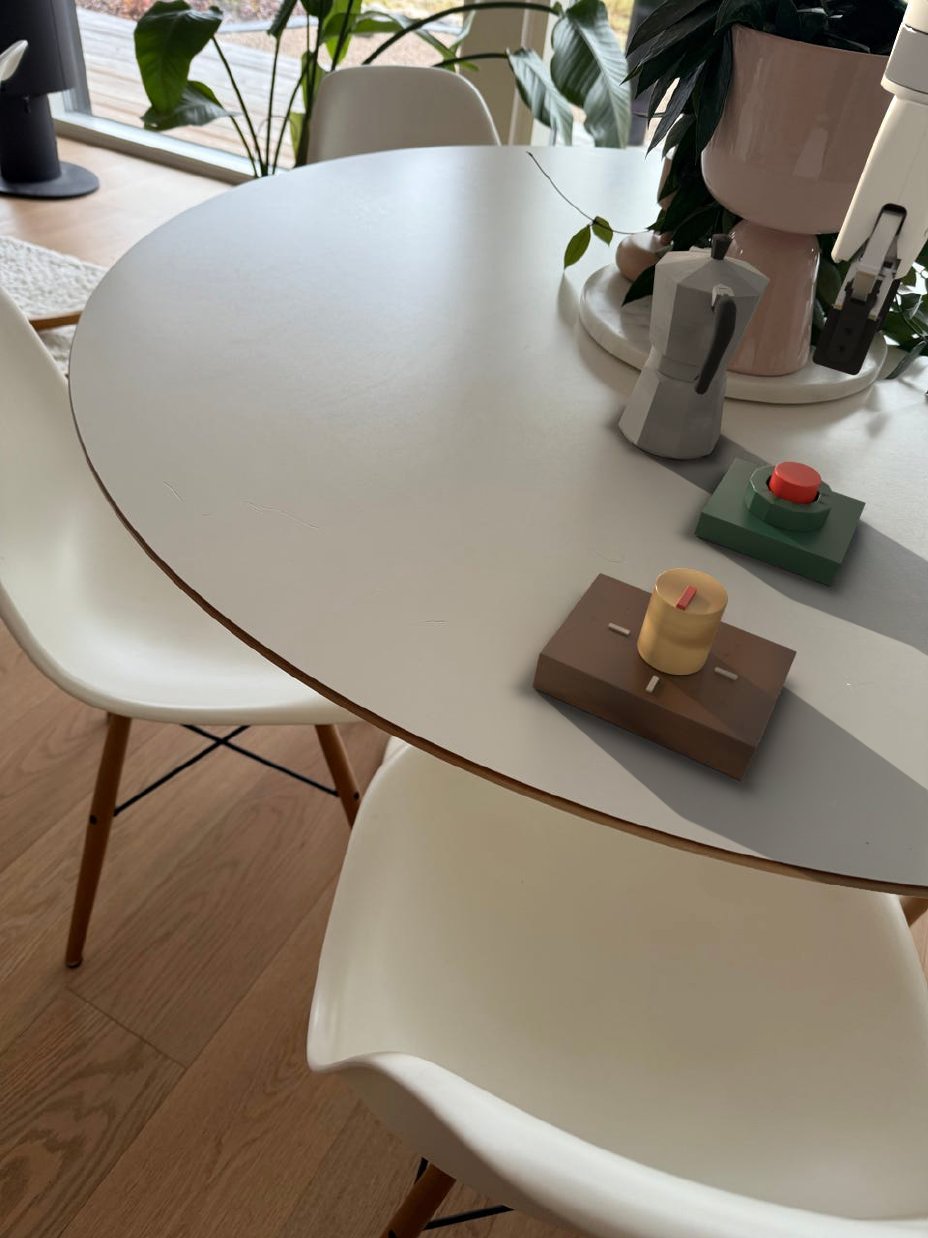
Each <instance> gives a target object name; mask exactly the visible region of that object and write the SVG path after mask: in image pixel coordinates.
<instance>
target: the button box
mask: <svg viewBox="0 0 928 1238" xmlns="http://www.w3.org/2000/svg"><path fill="white" fill-rule="evenodd" d="M776 466H777V465H767V466H762V465H759V464H756V463H754V462H750V461H747V460H744V459H742V458H739V457H736V458H735V459H734V460H733V463H732V464H731V465H730V467H729V468H728V470H727V471H726V472H725V474H724V476H723V478H722V479H721V480H720V482H719V484H718V485H717V487H716V488H715V490H714V491H713V493H712V494H711V496H710V498H709V499H708V500H707V502H706V504H705V505H704V507H703V508H702V510H701V511H700V514H699V518H698V520H697V524H696V526H695V530H694V531H693V535H694V536H696V537H699V538H701V539H704V540H706V541H709V542H712V543H715V544H718V545H720V546H723V547H725V548H728V549H730V550H733V551H735V552H738V553H741V554H744V555H747V556H749V557H752V558H755V559H757V560H760V561H761V562H765V563H767V564H770V565H773V566H775V567H777V568H781V569H782V570H783V569H784V570H786V571H789V572H791V573H794V574H797V575H799V576H802V577H805V578H806V579H810V580H813V581H815V582H818V583H821V584H823V585H826V586H829V587H832V586H833V584H834V581H835V579H836V577H837V575H838V572H839V570H840V568H841V565H842V563H843V561H844V558H845V555H846V553H847V551H848V549H849V546H850V543H851V541H852V538H853V536H854V534H855V531H856V528H857V526H858V524H859V522H860V519H861V516H862V514H863V512H864V509H865V507H866V502H865V501H862V500H859V499H856V498H853V497H851V496H848V495H845V494H842V493H839V492H836V491H833V490H832V488H831V487H830V485H829V484H828V483H827V482H825V481H824V480H822V479H821V484H820V486H819V489H818V491H817V493H816V496H815V498H814V500H813V501H812V502H811V503H809V504H802V503H792V502H790V501H787V500H784V499H781V498H779V497H777V496H776V495H775V494H773V493H772V492H771V491H769V483H770V480H771V478H772V475H773V472H774V470H775V467H776Z"/></svg>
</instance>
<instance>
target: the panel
mask: <svg viewBox="0 0 928 1238" xmlns="http://www.w3.org/2000/svg"><path fill="white" fill-rule="evenodd" d="M651 595H652V592H650V591H647V590H644V589H642V588H640V587H637V586H634V585H632V584H629V583H627V582H624V581H622V580H620V579H617V578H615V577H612V576H609V575H607V574H604V573H602V572H598V573H597V575H596V576H595V578H593V580H592V581H591V583H590V584H589V585H588V587H587V588H586V589H585V591H584V592H583V593H582V595H581V596H580V597H579V599H577V602H576V603H575V605H573V607H572V609H571V610H570V611H569V612H568V614H567V615H566V617H565V618H564V619H563V621H562V622H561V623H560V624H559V626H558V627H557V629H556V630H555V631H554V633H553V634H552V635H551V637H550V638H549V639H548V641H547V642H546V644H545V645H544V646H543V648H542V649H541V650H540V652H539V653H538V657H537V663H536V666H535V671H534V676H533V681H532V685H531V687H532V688H533V689H535V690H538V691H539V692H542V693H544V694H547V695H549V696H551V697H553V698H556V699H558V700H561V701H562V702H564V703H567V704H569V705H572V706H573V707H576V708H577V709H580V710H582V711H584V712H587V713H589V714H591V715H593V716H596V717H598V718H600V719H603V720H605V721H607V722H608V723H611V724H614V725H616V726H618V727H621V728H623V729H625V730H626V731H630V732H631V733H633V734H636V735H639V736H640V737H643V738H644V739H647V740H650V741H652V742H654V743H656V744H659V745H661V746H663V747H666V748H668V749H669V750H671V751H675V752H676V753H679V754H681V755H683V756H686V757H687V758H689V759H692V760H694V761H696V762H698V763H701V764H703V765H706V766H707V767H710V768H713V769H715V770H717V771H719V772H721V773H724V774H726V775H728V776H730V777H732V778H735V779H736V780H739V781H743V780H744V778H745V776H746V774H747V772H748V769H749V767H750V765H751V762H752V760H753V758H754V756H755V754H756V751H757V749H758V747H759V744H760V742H761V740H762V737H763V735H764V732H765V730H766V728H767V725H768V723H769V721H770V718H771V716H772V714H773V711H774V708H775V706H776V703H777V701H778V698H779V696H780V694H781V692H782V689H783V686H784V684H785V682H786V680H787V678H788V675H789V672H790V670H791V667H792V665H793V663H794V660H795V658H796V655H797V651H796V650H794V649H792V648H789V647H787V646H784V645H783V644H780V643H776V642H774V641H771V640H769V639H767V638H764V637H762V636H759V635H757V634H754V633H752V632H749V631H747V630H745V629H742V628H740V627H737V626H735V625H731V624H729V623H727V622H724V621H722V620H721V622H720V624H719V627H718V630H717V633H716V635H715V638H714V641H713V643H712V646H711V649H710V652H709V654H708V657H707V660H706V662H705V665H704V666H703V667H702V668H701V669H700V670H699V671H697V672H695V673H693V674H689V675H673V674H668V673H665V672H662V671H659V670H657V669H655V668H654V667H652V666H651V665H649V664H648V663H647V662H646V661H645V660H644V659H643V658H642V657H641V655H640V653H639V651H638V647H637V642H638V638H639V635H640V632H641V628H642V625H643V622H644V619H645V615H646V612H647V609H648V605H649V602H650V599H651Z"/></svg>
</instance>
